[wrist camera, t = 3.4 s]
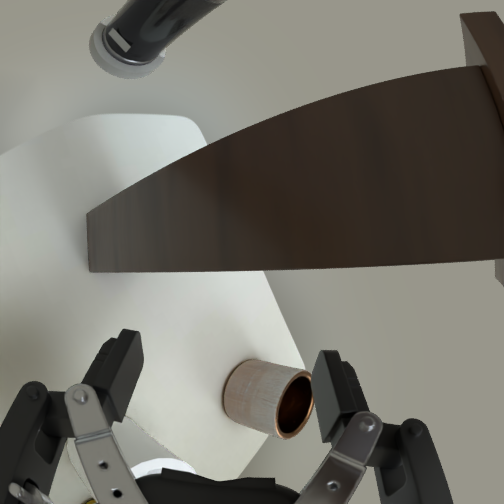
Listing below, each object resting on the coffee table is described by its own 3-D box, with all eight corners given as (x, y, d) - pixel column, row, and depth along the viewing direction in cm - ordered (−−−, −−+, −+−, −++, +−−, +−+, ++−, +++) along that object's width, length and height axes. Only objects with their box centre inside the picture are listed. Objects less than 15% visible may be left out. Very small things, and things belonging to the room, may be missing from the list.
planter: (209, 405, 36) (262, 427, 30) (245, 345, 42) (299, 355, 36) (246, 430, 41) (295, 448, 35) (275, 378, 47) (323, 388, 41)
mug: (158, 480, 27) (211, 521, 20) (95, 505, 20) (139, 559, 13) (133, 401, 27) (188, 440, 20) (54, 423, 20) (86, 482, 13)
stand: (82, 288, 25) (571, 315, 3) (78, 198, 25) (495, 10, 3) (148, 280, 31) (518, 276, 9) (143, 201, 31) (490, 105, 9)
